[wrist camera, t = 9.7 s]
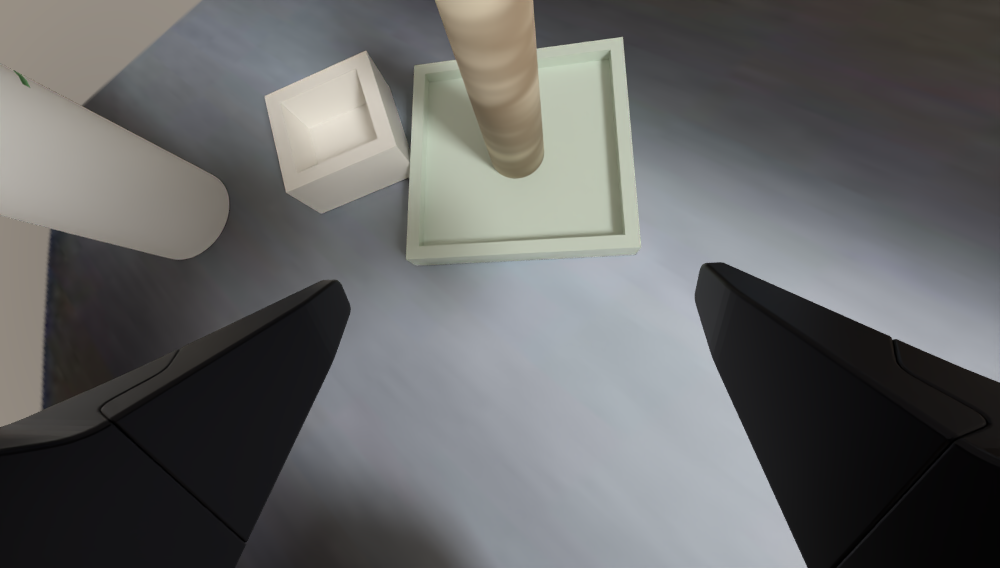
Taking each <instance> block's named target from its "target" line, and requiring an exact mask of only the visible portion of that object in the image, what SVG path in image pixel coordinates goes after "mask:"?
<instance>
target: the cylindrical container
mask: <svg viewBox="0 0 1000 568" xmlns="http://www.w3.org/2000/svg"><path fill="white" fill-rule="evenodd" d="M228 214H229V196H228V192H227V190H226V188H225V186H224V184H223V183H222V182H221V181H220V180H219V179H218V178H217V177H215V176H214V175H212V174H210V173H208V172H206V171H204V170H202V169H200V168H199V167H197V166H195V165H193V164H191V163H189V162H187V161H185V160H183V159H181V158H180V157H178V156H176V155H174V154H172V153H170V152H168V151H166V150H164V149H162V148H161V147H159V146H157V145H155V144H153V143H151V142H149V141H147V140H145V139H143V138H142V137H140V136H138V135H136V134H134V133H132V132H130V131H128V130H126V129H124V128H123V127H121V126H119V125H117V124H115V123H113V122H111V121H109V120H107V119H105V118H104V117H102V116H100V115H98V114H96V113H94V112H92V111H90V110H88V109H86V108H85V107H83V106H81V105H79V104H77V103H75V102H73V101H71V100H69V99H67V98H66V97H64V96H62V95H60V94H58V93H56V92H54V91H52V90H50V89H48V88H47V87H45V86H43V85H41V84H39V83H37V82H35V81H33V80H31V79H29V78H28V77H26V76H24V75H22V74H20V73H18V72H16V71H14V70H12V69H10V68H8V67H6V66H5V65H3V64H1V63H0V216H4V217H8V218H12V219H16V220H19V221H24V222H27V223H31V224H35V225H39V226H43V227H47V228H51V229H55V230H59V231H63V232H67V233H71V234H75V235H78V236H82V237H86V238H90V239H94V240H98V241H102V242H106V243H110V244H114V245H118V246H122V247H126V248H130V249H134V250H138V251H142V252H146V253H150V254H154V255H158V256H162V257H166V258H170V259H174V260H184V259H188V258H192V257H194V256H196V255H199V254H200V253H202V252H203V251H205V250H206V249H208V248H209V247H210V246H211V245H212V244H213V243H214V242H215V241H216V239H217V238H218V237H219V236H220V234H221V232H222V230H223V229H224V227H225V224H226V221H227V218H228Z"/></svg>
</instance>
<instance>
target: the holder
mask: <svg viewBox="0 0 1000 568" xmlns="http://www.w3.org/2000/svg"><path fill="white" fill-rule="evenodd" d="M264 97H265V101H266V105H267V110H268V114H269V119H270V123H271V128H272V132H273V137H274V141H275V146H276V150H277V154H278V159H279V163H280V168H281V172H282V177H283V181H284V186H285V190H286V193H287V194H289V195H291V196H292V197H294V198H296V199H297V200H299V201H301V202H302V203H304V204H306V205H307V206H309V207H311V208H312V209H314V210H315V211H317V212H319V213H320V214H322V213H325V212H327V211H330V210H332V209H334V208H337V207H339V206H342V205H344V204H346V203H349V202H351V201H354V200H356V199H358V198H361V197H363V196H366V195H368V194H370V193H373V192H375V191H378V190H380V189H382V188H385V187H387V186H390V185H392V184H394V183H397V182H399V181H402V180H404V179H406V178H409V177H410V154H411V151H410V148H409V145H408V142H407V139H406V136H405V133H404V129H403V126H402V123H401V120H400V117H399V114H398V111H397V108H396V105H395V102H394V99H393V96H392V93H391V90H390V87H389V86H388V84H387V83H386V81H385V80H384V78H383V76H382V75H381V73H380V72H379V70H378V68H377V67H376V65H375V64H374V62H373V60H372V59H371V57H370V56H369V54H368V53H367V51H364V52H362V53H359V54H357V55H355V56H353V57H351V58H348V59H346V60H344V61H342V62H339V63H337V64H335V65H333V66H331V67H328V68H326V69H324V70H322V71H319V72H317V73H315V74H313V75H311V76H308V77H306V78H304V79H302V80H300V81H297V82H295V83H293V84H291V85H288V86H286V87H284V88H282V89H280V90H277V91H275V92H273V93H271V94H269V95H266V96H264Z"/></svg>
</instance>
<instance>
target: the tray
mask: <svg viewBox="0 0 1000 568" xmlns="http://www.w3.org/2000/svg"><path fill="white" fill-rule="evenodd" d="M537 62H538V75H539V89H540V102H541V115H542V129H543V142H544V158H543V161H542V163H541V165H540V166H539V167H538V169H537V170H536V171H535V172H533V173H532V174H530V175H528V176H526V177H523V178H517V179H514V178H508V177H505V176H503V175H501V174H500V173H498V172H497V171H496V169H495V168H494V166H493V164H492V162H491V159H490V156H489V153H488V150H487V147H486V144H485V142H484V139H483V136H482V133H481V130H480V127H479V124H478V122H477V119H476V116H475V113H474V110H473V107H472V104H471V102H470V99H469V96H468V93H467V90H466V87H465V84H464V82H463V79H462V76H461V73H460V70H459V67H458V64H457V62H456V60H451V61H444V62H436V63H429V64H422V65H414V86H413V109H412V132H411V154H410V177H409V200H408V223H407V246H406V260H407V261H409V262H411V263H412V264H414V265H415V266H420V265H441V264H461V263H481V262H502V261H522V260H543V259H563V258H583V257H604V256H624V255H636V254H637V252H638V251H639V250H640V248H641V240H640V228H639V217H638V205H637V194H636V183H635V171H634V160H633V148H632V137H631V126H630V114H629V103H628V91H627V80H626V69H625V57H624V46H623V37H620V38H612V39H605V40H598V41H590V42H583V43H576V44H568V45H561V46H554V47H546V48H539V49H537Z"/></svg>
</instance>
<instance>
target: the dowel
mask: <svg viewBox="0 0 1000 568" xmlns="http://www.w3.org/2000/svg"><path fill="white" fill-rule="evenodd" d="M435 2H436V4H437V7H438V10H439V13H440V16H441V19H442V22H443V24H444V27H445V30H446V33H447V36H448V39H449V42H450V44H451V47H452V50H453V53H454V56H455V59H456V62H457V64H458V67H459V70H460V73H461V76H462V79H463V82H464V84H465V87H466V90H467V93H468V96H469V99H470V102H471V104H472V107H473V110H474V113H475V116H476V119H477V122H478V124H479V127H480V130H481V133H482V136H483V139H484V142H485V144H486V147H487V150H488V153H489V156H490V159H491V162H492V164H493V166H494V168H495V169H496V171H497V172H498V173H500V174H501V175H503V176H505V177H508V178H514V179H517V178H523V177H526V176H528V175H530V174H532V173H533V172H535V171H536V170H537V169H538V167H539V166H540V165H541V163H542V161H543V158H544V142H543V129H542V115H541V102H540V89H539V75H538V62H537V49H536V35H535V22H534V9H533V0H435Z"/></svg>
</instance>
